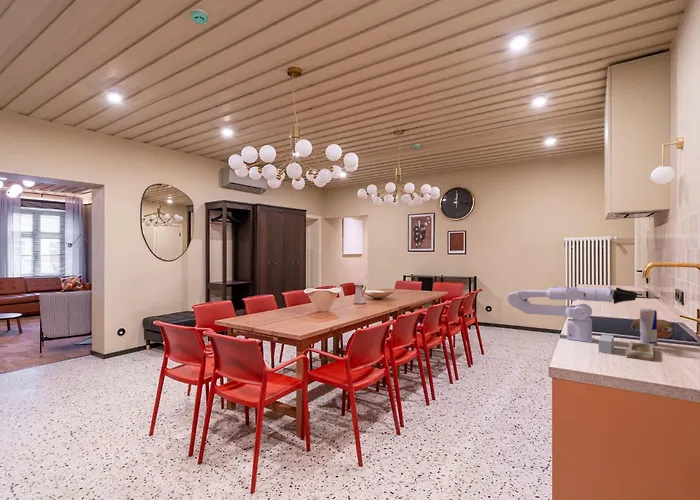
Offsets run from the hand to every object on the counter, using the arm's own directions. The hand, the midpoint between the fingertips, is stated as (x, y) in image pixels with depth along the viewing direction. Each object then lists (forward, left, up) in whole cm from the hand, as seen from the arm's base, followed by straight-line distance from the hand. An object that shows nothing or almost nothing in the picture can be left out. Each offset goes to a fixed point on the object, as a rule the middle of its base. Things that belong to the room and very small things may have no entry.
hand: (636, 296), depth 151 cm
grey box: (-9, -12, -21) cm, 26 cm away
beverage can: (+4, +9, -21) cm, 23 cm away
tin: (+5, +25, -21) cm, 33 cm away
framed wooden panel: (+2, -11, -21) cm, 24 cm away
